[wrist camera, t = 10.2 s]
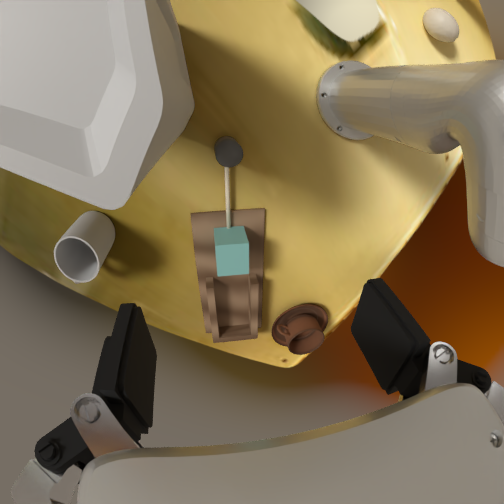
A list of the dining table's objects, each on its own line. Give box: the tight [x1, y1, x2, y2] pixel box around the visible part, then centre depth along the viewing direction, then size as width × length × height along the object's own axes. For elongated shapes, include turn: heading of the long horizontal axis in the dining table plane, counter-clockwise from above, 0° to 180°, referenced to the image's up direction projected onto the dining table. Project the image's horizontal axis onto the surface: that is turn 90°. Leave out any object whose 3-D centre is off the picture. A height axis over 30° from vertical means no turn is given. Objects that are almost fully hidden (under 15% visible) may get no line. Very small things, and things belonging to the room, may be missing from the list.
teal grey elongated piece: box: [214, 136, 249, 276], centre depth 37 cm, size 19×4×6 cm, turn 0°
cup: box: [54, 211, 115, 283], centre depth 35 cm, size 7×10×9 cm
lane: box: [191, 208, 265, 343], centre depth 45 cm, size 25×11×3 cm, turn 0°
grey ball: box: [423, 8, 459, 42], centre depth 24 cm, size 7×7×7 cm
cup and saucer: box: [272, 304, 328, 355], centre depth 53 cm, size 12×12×6 cm
